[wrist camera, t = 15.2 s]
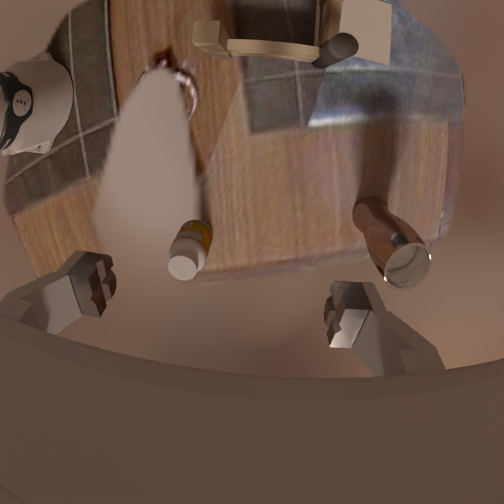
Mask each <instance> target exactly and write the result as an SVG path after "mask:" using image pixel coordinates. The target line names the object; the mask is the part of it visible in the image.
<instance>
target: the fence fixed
mask: <svg viewBox="0 0 504 504" xmlns="http://www.w3.org/2000/svg"><path fill="white" fill-rule="evenodd" d="M192 43H193V44H194V45H196V46H197V47H198V48H200V49H201V50H203V51H204V52H205V53H207V54H208V55H209V56H211V57H212V58H213V59H232V57H233V56H257V57H270V58H281V59H290V60H298V61H306V62H312V64H313V65H314V66H315V67H317V68H325V67H328V66H330V65H332V64H334V63H337V62H339V61H341V60H344V59H346V58H349V57H351V56H353V55H355V54H356V53H357V52H358V49H359V44H358V41H357V40H356V38H355V37H354V36H352V35H351V34H349V33H345V32H341V33H338V34H336V35H335V36H334V37H332V38H331V39H330V40H329V41H327V42H326V43H325V44H324V45H323V46H321V47H316V46H309V45H302V44H295V43H287V42H277V41H265V40H247V39H231V38H230V37H229V35H228V33H227V32H226V30H225V28H224V26H223V25H222V23H221V21H220V20H213V21H194V29H193V40H192Z"/></svg>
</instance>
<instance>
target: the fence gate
mask: <svg viewBox="0 0 504 504" xmlns="http://www.w3.org/2000/svg"><path fill="white" fill-rule="evenodd" d="M343 1H344V0H319V5H321V6H323V11H322V20H321V28H320V36H319V44H318V47H321V46H323V45H324V44H325V43H326V42H327V41H329V40H330V39H331V38H332V37H334V36H335V35H336V34H338V33H339V29H340V20H341V10H342V2H343Z"/></svg>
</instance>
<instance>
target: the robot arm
mask: <svg viewBox="0 0 504 504" xmlns="http://www.w3.org/2000/svg"><path fill="white" fill-rule="evenodd" d="M72 101H73V86H72V81H71V78H70V75H69V73H68V71H67V70H66V69H65V67H64V66H62V65H61V64H59V63H57V62H56V61H54V60H53V58H52V56H51V54H50V53H49V52H48V51H45V52H41V53H40V54H39V55H37V56H35V57H34V58H32V59H31V60H28V61H20V62H16V63H14V64H13V66H11V67H10V68H9V69H7V70H6V71H5V72H0V151H1V155H2V156H5V155H9V154H10V155H13V154H16V153H20V152H22V151H27V152H35V153H47V152H49V151H50V149H51V146H52V144H53V141H54V138H55V137H56V135H57V134H58V133H59V132H60V131H61V129H62V128H63V127H64V125H65V123H66V121H67V119H68V117H69V114H70V111H71V107H72ZM40 145H41V147H40ZM112 266H113V261H112V257H111V256H109V255H106V254H100V253H93V252H87V251H80V250H78V251H75V252H74V253H73V254H72V255H71V256H70V257H69V258H68V259H67V261H66V262H65V263H64V264H63V265H62V266H61V267H60V268H59V269H58V270H57V271H56V272H51V273H49V274H47V275H45V276H43V277H41V278H38V279H36V280H34V281H32V282H30V283H28V284H26V285H24V286H21V287H19V288H17V289H15V290H13V291H11V292H9V293H8V294H6V296H5V297H4V298H3V299H2V300H1V301H0V504H504V358H503V359H499V360H495V361H490V362H486V363H481V364H476V365H471V366H465V367H459V368H454V369H447V370H446V369H445V367H444V365H443V362H442V360H441V358H440V356H439V354H438V351H437V349H436V347H435V346H434V345H432V344H431V343H430V342H429V341H427V340H426V339H425V338H424V337H422V336H421V335H420V334H419V333H417V332H416V331H415V330H414V329H412V328H411V327H410V326H408V325H407V324H406V323H405V322H403V321H402V320H401V319H399V318H398V317H397V316H395V315H394V314H393V313H392V312H390V311H386V308H385V306H384V304H383V302H382V300H381V298H380V295H379V294H378V291H377V289H376V287H375V285H374V284H373V283H370V282H348V281H335V280H334V281H333V283H332V285H331V288H330V292H331V296H330V297H329V298H328V299H327V300H326V303H325V308H324V322H325V325H327V326H328V327H329V329H328V331H327V337H328V341H329V346H330V347H341V348H352V350H353V351H354V353H355V354H356V355H357V356H358V357H359V358H360V360H361V361H362V362H363V363H364V364H365V366H366V367H367V368H368V369H369V370H370V372H371V373H372V374H373V375H374V376H375V377H356V378H355V377H354V378H302V377H280V376H265V375H252V374H242V373H232V372H223V371H215V370H207V369H200V368H193V367H187V366H181V365H174V364H169V363H164V362H158V361H153V360H148V359H144V358H139V357H134V356H130V355H125V354H121V353H117V352H113V351H109V350H105V349H101V348H98V347H94V346H90V345H87V344H83V343H80V342H77V341H73V340H70V339H66V338H64V337H60V336H58V335H55V334H57V333H58V332H59V331H61V330H62V329H63V328H65V327H66V326H68V325H69V324H70V323H72V322H73V321H74V320H76V319H77V318H79V317H80V316H81V315H82V314H84V315H88V316H93V317H98V318H100V317H101V315H102V314H103V312H104V310H105V309H106V307H107V305H106V301H108V300H110V299H111V298H112V297H113V295H114V294H115V290H116V276H115V274H114V273H113V271H112V270H111V268H112Z"/></svg>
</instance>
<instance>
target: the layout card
mask: <svg viewBox="0 0 504 504" xmlns="http://www.w3.org/2000/svg"><path fill="white" fill-rule="evenodd" d="M322 11H323V6H321V5H319V0H317V5H316V22H315V37H314V46H316V47H318V44H319V36H320V28H321V20H322ZM341 32H345V33H349V34H351V35H352V36H354V37H355V38H356V40H357V41H358V44H359V49H358V52H357V53H356V54H355V55H353V56H355V57H359V58H363V59H367V60H371V61H374V62H378V63H381V64H385V65H388V66H389V60H390V44H391V4H388V3H385V2H382V1H379V0H344V1H343V2H342V10H341V20H340V29H339V33H341Z"/></svg>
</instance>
